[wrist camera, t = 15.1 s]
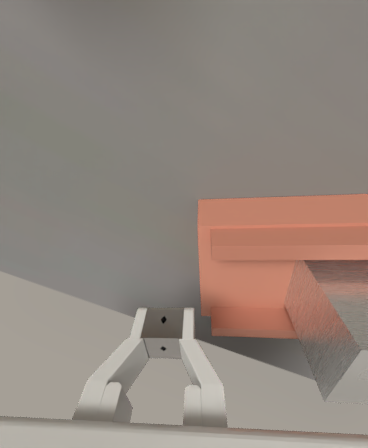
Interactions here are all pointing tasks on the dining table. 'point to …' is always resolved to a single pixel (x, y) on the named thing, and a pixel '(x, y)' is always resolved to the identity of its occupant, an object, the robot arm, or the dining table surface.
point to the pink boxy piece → (269, 255)
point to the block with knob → (333, 324)
